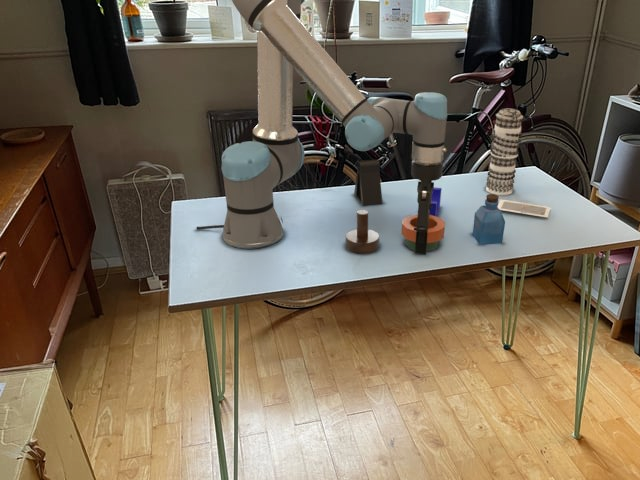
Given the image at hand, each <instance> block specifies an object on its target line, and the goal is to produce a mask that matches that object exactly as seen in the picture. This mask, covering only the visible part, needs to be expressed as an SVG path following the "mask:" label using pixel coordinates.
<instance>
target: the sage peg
mask: <svg viewBox="0 0 640 480" xmlns="http://www.w3.org/2000/svg"><path fill="white" fill-rule="evenodd" d="M429 213H430V210H429V211H428V223H427V228H428V227H429ZM428 229H429V228H428ZM415 245H416V242H413V241H410V240H408V239H406V238H405V246H406V247H407V248H409V249H411V250H412V251H415ZM438 246H439V241H437V242H431V243H427V245H426V252H430V251H434V250H436V249H437V248H438Z"/></svg>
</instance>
